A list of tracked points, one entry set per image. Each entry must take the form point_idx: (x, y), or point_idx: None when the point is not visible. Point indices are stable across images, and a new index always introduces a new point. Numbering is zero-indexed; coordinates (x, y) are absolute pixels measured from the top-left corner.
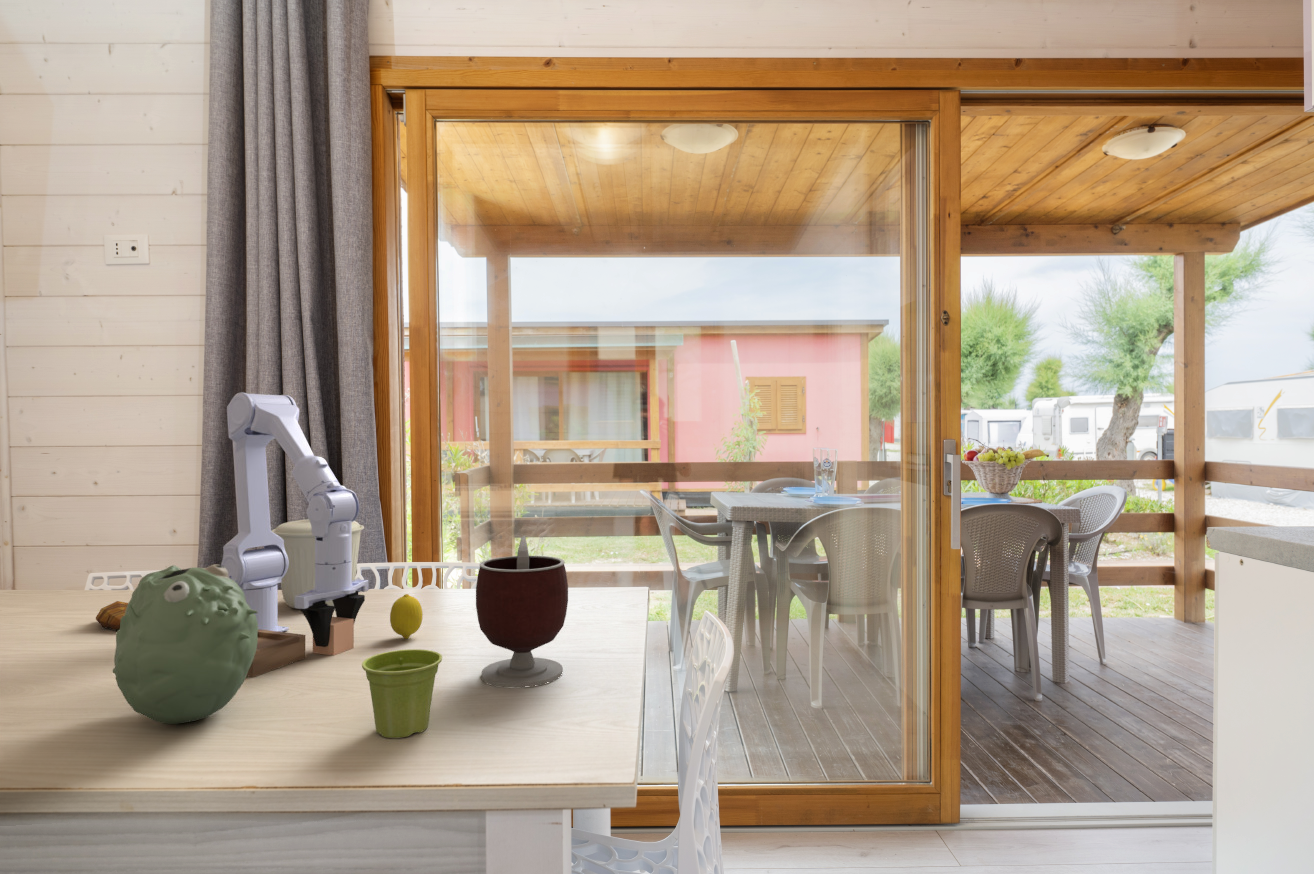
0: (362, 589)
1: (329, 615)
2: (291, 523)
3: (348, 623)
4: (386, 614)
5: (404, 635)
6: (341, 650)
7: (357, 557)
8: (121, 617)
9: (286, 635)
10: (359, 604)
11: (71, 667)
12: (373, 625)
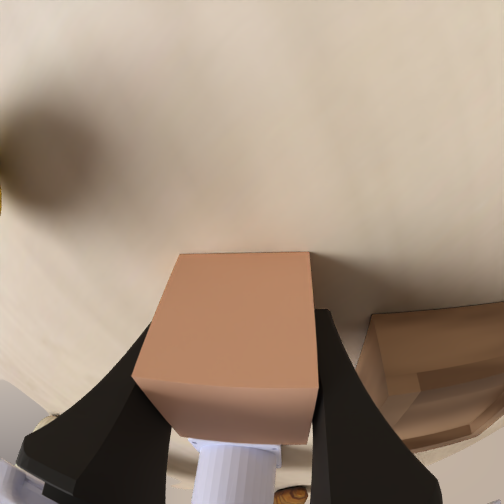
0: (18, 480)
1: (364, 460)
2: None
3: (181, 364)
4: (6, 351)
5: None
6: (256, 259)
7: (16, 465)
8: (301, 500)
9: (398, 419)
10: (62, 436)
11: (432, 454)
12: (37, 339)
